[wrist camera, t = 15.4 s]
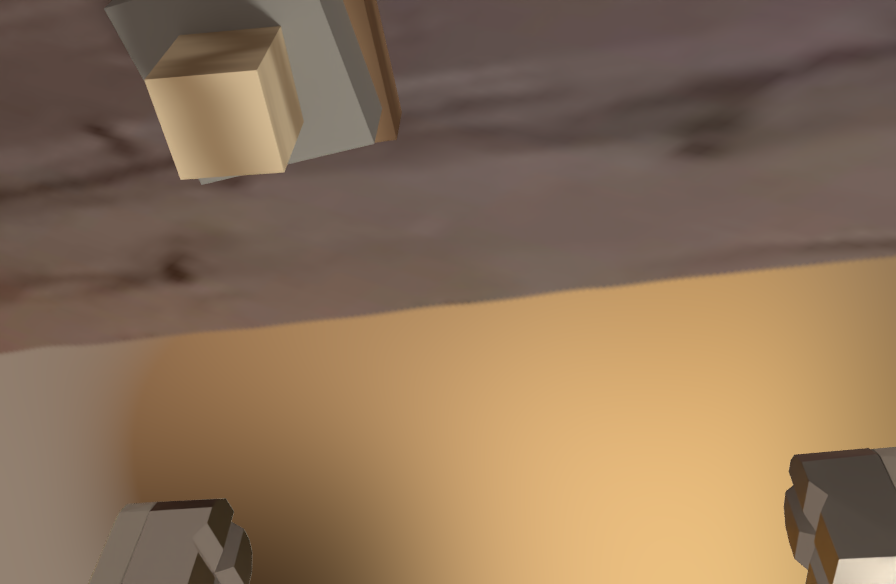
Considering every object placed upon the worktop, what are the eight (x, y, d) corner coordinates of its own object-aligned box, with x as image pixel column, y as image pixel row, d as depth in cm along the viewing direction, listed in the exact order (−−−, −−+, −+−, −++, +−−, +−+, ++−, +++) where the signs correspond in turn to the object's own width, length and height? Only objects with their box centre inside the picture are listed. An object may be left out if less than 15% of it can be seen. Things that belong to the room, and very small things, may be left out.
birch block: (280, 25, 38) (256, 70, 34) (303, 121, 41) (284, 172, 37) (179, 35, 38) (144, 79, 34) (209, 129, 41) (180, 179, 38)
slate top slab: (315, -76, 39) (300, -50, 36) (382, 108, 45) (374, 143, 42) (133, -21, 41) (104, 8, 38) (220, 148, 47) (201, 184, 44)
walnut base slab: (355, -103, 41) (344, -81, 38) (402, 107, 49) (396, 139, 46) (140, -64, 43) (113, -41, 40) (217, 133, 51) (199, 166, 48)
